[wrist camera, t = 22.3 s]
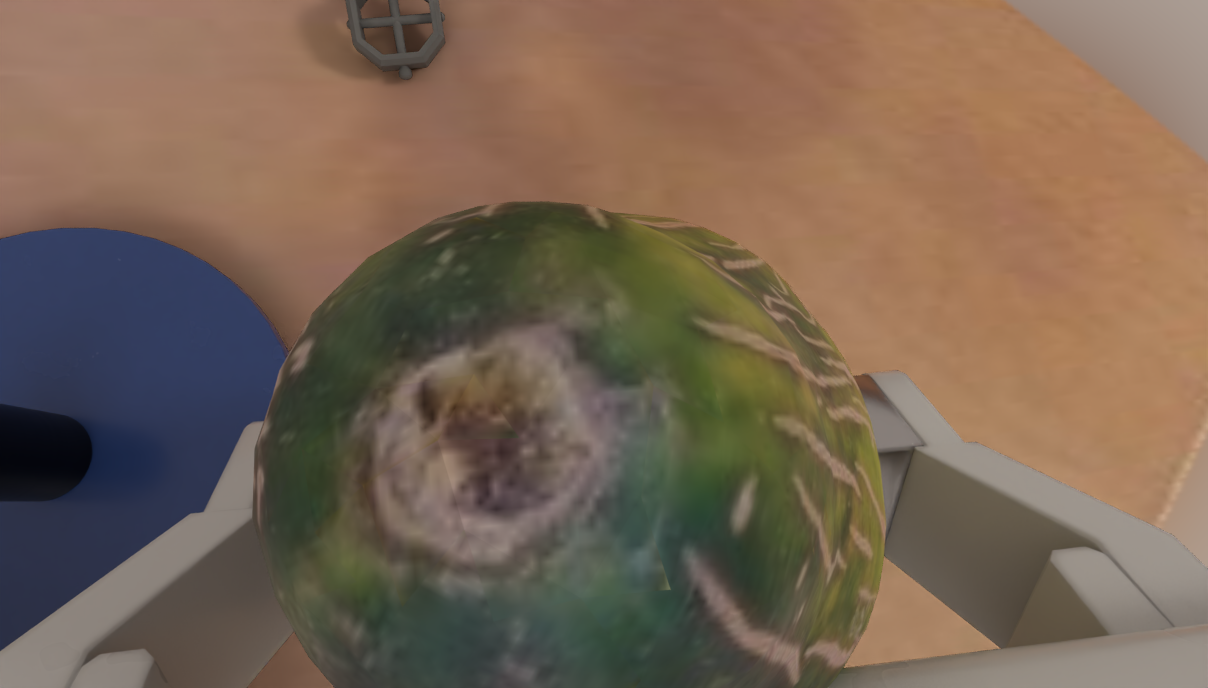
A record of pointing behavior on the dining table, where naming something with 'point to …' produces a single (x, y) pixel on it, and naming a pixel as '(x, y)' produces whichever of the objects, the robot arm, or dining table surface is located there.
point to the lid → (113, 403)
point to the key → (397, 36)
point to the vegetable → (569, 464)
